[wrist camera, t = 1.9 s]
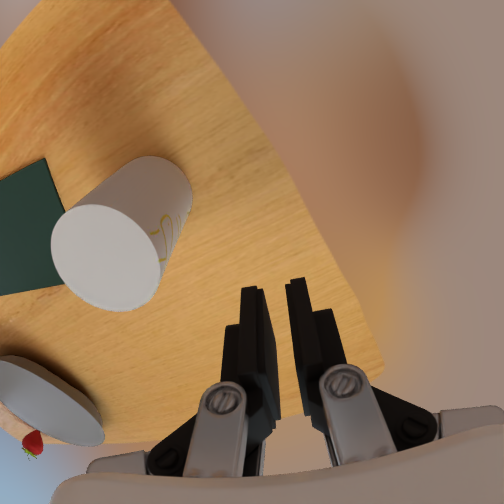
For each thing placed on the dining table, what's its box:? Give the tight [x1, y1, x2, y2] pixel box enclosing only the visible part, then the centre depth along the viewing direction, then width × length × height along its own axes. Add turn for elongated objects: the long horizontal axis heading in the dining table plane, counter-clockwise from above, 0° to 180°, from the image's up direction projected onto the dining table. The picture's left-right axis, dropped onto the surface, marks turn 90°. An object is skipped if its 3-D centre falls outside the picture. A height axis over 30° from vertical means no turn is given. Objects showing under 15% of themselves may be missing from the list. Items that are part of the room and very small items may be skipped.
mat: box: [0, 158, 65, 296], centre depth 32 cm, size 15×23×1 cm, turn 102°
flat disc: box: [0, 355, 105, 447], centre depth 47 cm, size 28×28×4 cm
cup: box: [51, 156, 192, 312], centre depth 24 cm, size 8×8×12 cm
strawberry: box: [22, 430, 43, 459], centre depth 56 cm, size 6×8×10 cm
